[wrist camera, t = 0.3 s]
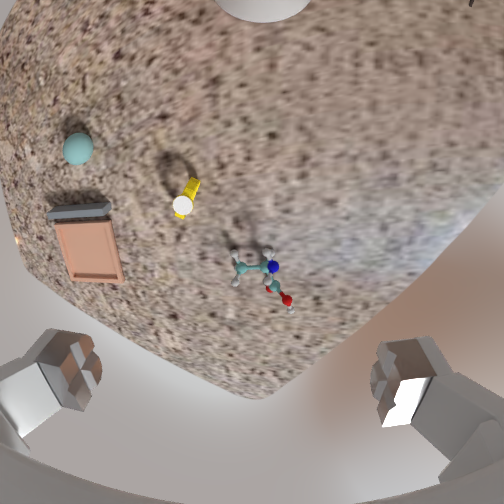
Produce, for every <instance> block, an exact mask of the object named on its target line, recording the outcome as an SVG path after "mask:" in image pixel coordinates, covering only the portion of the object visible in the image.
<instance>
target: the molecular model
mask: <svg viewBox="0 0 504 504" xmlns="http://www.w3.org/2000/svg"><path fill="white" fill-rule="evenodd" d="M262 253H263V255H264V256H266V257H267V260H266V261H264V262H262V263H261V264H260V265H253V266H247V265H246V264H245V263H244V262H240V260H239V258H238V251H237V250H232V251H231V252H230V255H231V257H234V259H235V261H236V263H237V264H236V265H235V266H234V270H235V271H236V272H237V274H236V276H235V278H234V279H232V280H231V284H232V285H233V286H238V284H239V280H238V279H239V277H240V275H241V274H243V273H245V272H246V271H247V270H249V269H260V270H261V271H262V272H263V273H267V277H265V278H264V280H263V283H264V284H265V285H267V286H266V290H267V291H268V292H270V293H271V292H276V291H277V292H278V293H279V294H280V295H281V297H282V302H283V304H285V305H287V307H288V308H287V312H288V313H289V314H292V313H294V310H295V309H294V307H292V306H291V303H292V297H291V296H289V295H285V294H284V293H283V292H282V291H281V290H280V283H279V282H278V281H277V280H274V279H273V277H272V274H273V273H274V272H277V271H278V269H279V264H278V262H276V261H273V260H272V257H273V256H274V255H275V251H274V250H272V249H269V248H264V249H263V251H262Z"/></svg>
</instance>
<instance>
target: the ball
mask: <svg viewBox="0 0 504 504" xmlns="http://www.w3.org/2000/svg"><path fill="white" fill-rule="evenodd" d="M92 152H93V142H92V140H91V138H90V137H89V136H88V135H86V134H84V133H75V134H72V135H71V136H69V137H68V138H67V139H66V141H65V143H64V145H63V156H64V158H65V159H66V161H67V162H69V163H70V164H73V165H80V164H83V163H85V162H86V161H87V160H88V159H89V158H90V157H91V155H92Z"/></svg>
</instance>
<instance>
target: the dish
mask: <svg viewBox="0 0 504 504" xmlns="http://www.w3.org/2000/svg"><path fill="white" fill-rule="evenodd" d="M54 226H55V230H56V233H57V237H58V240H59V244H60V247H61V250H62V254H63V257H64V260H65V263H66V266H67V269H68V272H69V275H70V278H71V281H83V282H103V283H124V281H125V277H124V273H123V269H122V265H121V261H120V257H119V253H118V249H117V244H116V240H115V235H114V231H113V226H112V221H111V220H90V221H71V222H57V223H56V224H55V225H54Z"/></svg>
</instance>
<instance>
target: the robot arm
mask: <svg viewBox="0 0 504 504" xmlns="http://www.w3.org/2000/svg"><path fill="white" fill-rule="evenodd" d="M310 1H311V0H215V2H216V3H217V4H218V5H219V6H220V7H221V8H222V9H223V10H225V11H226V12H227V13H229V14H231V15H232V16H235V17H237V18H239V19H242V20H246V21H251V22H259V23H267V22H276V21H280V20H284V19H287V18H289V17H291V16H293V15H295V14H297V13H298V12H300V11H301V10H302V9H303V8H304V7H305V6H306V5H307V4H308V3H309V2H310ZM93 348H94V343H93V341H92V338H91V337H90V336H88V335H86V334H81V333H75V332H69V331H64V330H57V329H52V328H51V329H47V330H46V331H45V332H44V333H43V334H42V335H41V336H40V338H39V339H38V340H37V341H36V342H35V343H34V344H33V346H32V347H31V348H30V349H29V350H28V351H27V353H26V354H25V355H24V356H23V357H22V358H17V359H15V360H13V361H10V362H8V363H6V364H4V365H2V366H0V504H181V503H175V502H170V501H165V500H158V499H154V498H149V497H145V496H140V495H136V494H132V493H128V492H124V491H120V490H117V489H113V488H110V487H106V486H103V485H100V484H96V483H94V482H90V481H87V480H85V479H82V478H79V477H76V476H73V475H71V474H68V473H65V472H63V471H60V470H57V469H55V468H53V467H51V466H48V465H46V464H43V463H41V462H39V461H36V460H35V459H33V458H30V457H28V455H29V453H30V448H29V446H28V445H27V444H26V443H25V442H24V440H23V439H22V438H23V437H24V436H25V435H27V434H28V433H29V432H30V431H32V430H33V429H35V428H36V427H37V426H39V425H40V424H41V423H43V422H44V421H45V420H47V419H48V418H49V417H50V416H52V415H53V414H54V413H56V412H57V411H58V410H60V409H61V408H62V407H66V408H70V409H74V410H78V411H82V412H84V410H85V408H86V406H87V404H88V403H89V401H90V399H91V397H92V395H91V391H90V390H92V389H93V388H95V387H97V386H98V384H99V382H100V380H101V375H102V364H101V361H100V358H99V357H98V356H97V355H96V354H95V353H94V352H93ZM376 354H377V356H378V359H379V360H378V361H377V362H376V363H375V364H374V365H373V367H372V371H371V379H370V384H371V391H372V394H373V397H374V398H376V399H377V400H378V401H380V402H379V404H378V407H377V410H378V414H379V417H380V420H381V423H382V427H384V426H391V425H398V424H405V423H410V424H411V425H412V426H413V427H414V428H415V429H416V430H417V431H418V432H419V433H420V434H421V435H423V436H424V437H425V438H426V439H427V440H428V441H429V442H430V443H431V444H432V445H433V446H435V447H436V448H437V449H438V450H439V451H440V452H441V453H442V454H443V455H444V456H446V457H447V458H448V459H449V460H450V461H451V462H450V463H449V464H448V465H447V466H446V467H445V469H444V470H443V471H442V472H441V473H440V475H439V476H438V478H439V481H440V484H437V485H434V486H431V487H428V488H424V489H421V490H417V491H414V492H410V493H406V494H402V495H397V496H393V497H388V498H384V499H379V500H374V501H368V502H362V503H356V504H504V398H502V397H500V396H499V395H497V394H495V393H493V392H491V391H490V390H488V389H486V388H485V387H483V386H481V385H480V384H478V383H476V382H474V381H473V380H471V379H469V378H467V377H466V376H464V375H462V374H461V373H459V372H457V373H454V372H453V370H452V369H451V367H450V365H449V364H448V362H447V360H446V359H445V357H444V356H443V354H442V352H441V351H440V349H439V347H438V346H437V345H436V343H435V341H434V340H433V338H432V337H430V336H425V337H417V338H413V339H404V340H394V341H383V342H380V344H379V346H378V349H377V353H376ZM61 406H62V407H61Z"/></svg>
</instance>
